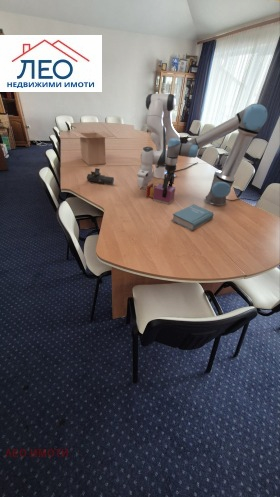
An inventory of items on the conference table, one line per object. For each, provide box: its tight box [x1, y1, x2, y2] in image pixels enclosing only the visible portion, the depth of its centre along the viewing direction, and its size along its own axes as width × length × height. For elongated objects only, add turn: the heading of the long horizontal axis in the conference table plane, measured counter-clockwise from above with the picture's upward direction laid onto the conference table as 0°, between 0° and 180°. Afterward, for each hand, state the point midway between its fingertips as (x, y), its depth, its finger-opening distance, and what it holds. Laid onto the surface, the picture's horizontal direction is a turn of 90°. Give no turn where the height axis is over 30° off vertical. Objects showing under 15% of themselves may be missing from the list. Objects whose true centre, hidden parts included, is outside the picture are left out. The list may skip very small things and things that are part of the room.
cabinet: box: [152, 183, 176, 205], centre depth 164 cm, size 13×10×10 cm
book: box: [171, 203, 215, 231], centre depth 142 cm, size 23×16×5 cm
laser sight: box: [86, 168, 115, 185], centre depth 184 cm, size 10×22×10 cm, turn 78°
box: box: [70, 129, 114, 166], centre depth 229 cm, size 44×36×27 cm
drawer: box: [139, 183, 159, 199], centre depth 167 cm, size 17×9×8 cm, turn 63°
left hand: (144, 189), depth 170 cm, fingers closed, pressing on drawer
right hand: (166, 194), depth 163 cm, fingers closed on cabinet, 10 cm apart
